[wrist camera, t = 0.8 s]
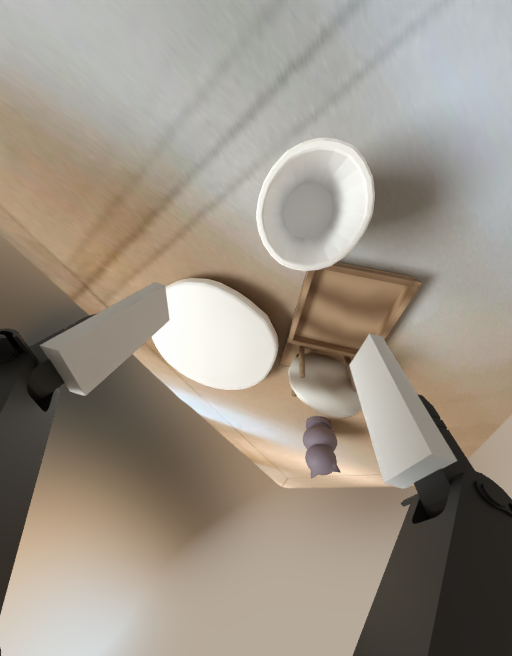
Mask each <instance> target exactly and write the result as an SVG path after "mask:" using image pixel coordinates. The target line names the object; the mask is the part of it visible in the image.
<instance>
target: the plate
mask: <svg viewBox="0 0 512 656" xmlns="http://www.w3.org/2000/svg"><path fill="white" fill-rule="evenodd" d="M166 295H167V303H168V311H169V319H170V320H169V321H168V322H167V323H166V324H165V325H164V326H163V327H162V328H161V329H159V330H158V331H157V332H156V333H155V334H154V335H153V336H152V339H153V341H154V343H155V345H156V347H157V349H158V350H159V352H160V354H161V355H162V356H163V357H164V359H165V360H166V361H167V362H168V363H169V364H170V365H171V366H172V367H174V368H175V369H176V370H177V371H179V372H180V373H182V374H183V375H185V376H186V377H188V378H190V379H192V380H194V381H197V382H199V383H201V384H203V385H206V386H210V387H213V388H219V389H226V390H239V389H245V388H249V387H251V386H253V385H256V384H258V383H259V382H260V381H262V380H263V379H264V378H265V377H266V376H267V374H268V373H269V371H270V370H271V369H272V366H273V364H274V362H275V360H276V357H277V352H278V347H279V344H278V337H277V333H276V331H275V329H274V327H273V325H272V323H271V322H270V320H269V318H268V316H267V315H266V314H265V313H264V312H263V311H262V310H261V309H260V308H258V307H257V306H256V305H255V304H254V303H253V302H252V301H250V300H249V299H248V298H246V297H245V296H243V295H242V294H240V293H239V292H238V291H236V290H234V289H232V288H230V287H228V286H226V285H224V284H222V283H220V282H217V281H213V280H210V279H201V278H188V279H183V280H178V281H176V282H174V283H172V284H170V285H168V286H166Z"/></svg>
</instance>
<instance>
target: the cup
mask: <svg viewBox="0 0 512 656" xmlns="http://www.w3.org/2000/svg"><path fill="white" fill-rule="evenodd" d="M374 200H375V191H374V181H373V176H372V173H371V171H370V169H369V166H368V164H367V162H366V160H365V158H364V157H363V156H362V155H361V153H360V152H359V151H358V150H357V148H356V147H355V146H353V145H351V144H348V143H346V142H344V141H342V140H339V139H332V138H322V137H321V138H317V139H313V140H309V141H305V142H302V143H300V144H298V145H296V146H295V147H293V148H291V149H289V150H287V151H286V152H285V153H284V154H283V155H282V157H281V158H280V159H279V160H278V161H277V162H276V163H275V164H274V166H273V167H272V169H271V170H270V172H269V174H268V175H267V177H266V179H265V180H264V183H263V186H262V189H261V192H260V195H259V198H258V205H257V212H256V218H257V224H258V231H259V233H260V236H261V239H262V242H263V244H264V246H265V247H266V249H267V250H268V252H269V253H270V255H271V256H272V257H273V258H274V259H276V260H277V261H278V262H279V263H280V264H282V265H284V266H286V267H289V268H291V269H295V270H301V271H311V270H319V269H322V268H326V267H329V266H332V265H333V264H335V263H336V262H338V261H339V260H341V259H342V258H344V257H345V256H346V255H347V254H348V253H349V252H350V251H351V250H352V249H353V248H354V247H355V246H356V245H357V243H358V242H359V240H360V239H361V237H362V236H363V234H364V233H365V231H366V229H367V227H368V224H369V222H370V220H371V218H372V215H373V209H374Z"/></svg>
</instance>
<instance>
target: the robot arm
mask: <svg viewBox="0 0 512 656" xmlns="http://www.w3.org/2000/svg"><path fill="white" fill-rule="evenodd" d="M169 320H170V319H169V311H168V303H167V295H166V287H165V285H162V284H158V283H153V284H151V285H149V286H147V287H145V288H143V289H142V290H140V291H138V292H136V293H134V294H132V295H131V296H129V297H127V298H125V299H123V300H121V301H120V302H118V303H116V304H114V305H112V306H111V307H109V308H107V309H105V310H103V311H101V312H100V313H97V314H94V315H91V316H87V317H85V318H83V319H81V320H79V321H77V322H75V324H72V325H70V326H68V327H66V329H62V330H60V331H59V332H57V333H55V334H53V335H51V336H49V337H47V338H45V339H43V340H41V341H40V342H38V343H36V344H34V345H32V346H30V347H28V345H27V344H26V343H25V341H24V340H23V339H22V337H21V335H20V334H19V333H18V332H17V331H16V330H13V329H0V613H1V610H2V606H3V602H4V599H5V595H6V591H7V588H8V583H9V580H10V576H11V573H12V569H13V566H14V562H15V558H16V554H17V551H18V547H19V543H20V540H21V536H22V532H23V529H24V525H25V521H26V517H27V514H28V510H29V506H30V503H31V499H32V495H33V492H34V488H35V484H36V481H37V477H38V473H39V470H40V466H41V462H42V459H43V455H44V451H45V447H46V444H47V440H48V436H49V433H50V428H51V425H52V422H53V418H54V414H55V410H56V407H57V403H58V399H59V396H60V390H59V389H58V387H60V386H61V385H62V384H64V383H65V384H66V386H67V387H68V389H69V390H70V391H71V392H74V393H77V394H81V395H84V396H86V395H87V394H88V393H89V392H90V391H91V390H93V389H94V388H95V387H96V386H97V385H98V384H99V383H100V382H102V381H103V380H104V379H105V378H106V377H107V376H108V375H109V374H110V373H112V372H113V371H114V370H115V369H116V368H117V367H118V366H119V365H120V364H122V363H123V362H124V361H125V360H126V359H127V358H128V357H129V356H131V355H132V354H133V353H134V352H135V351H136V350H137V349H138V348H139V347H141V346H142V345H143V344H144V343H145V342H146V341H147V340H148V339H149V338H151V337H152V336H153V335H154V334H155V333H156V332H157V331H158V330H159V329H161V328H162V327H163V326H164V325H165V324H166V323H167V322H168V321H169ZM349 366H350V370H351V373H352V376H353V380H354V383H355V386H356V390H357V393H358V397H359V400H360V403H361V407H362V410H363V413H364V417H365V420H366V424H367V427H368V430H369V434H370V437H371V440H372V444H373V447H374V451H375V454H376V457H377V461H378V464H379V467H380V471H381V474H382V478H383V481H384V483H385V484H389V485H392V486H395V487H399V488H402V489H405V488H407V487H409V486H410V485H412V484H414V485H415V487H416V490H417V492H418V494H416V495H414V496H412V497H410V498H408V499H405V500H404V501H403V502H402V503H401V504H402V506H406V505H409V504H410V506H409V509H408V512H407V514H406V517H405V520H404V522H403V525H402V528H401V530H400V533H399V535H398V538H397V541H396V543H395V546H394V549H393V551H392V554H391V557H390V559H389V562H388V564H387V567H386V570H385V572H384V575H383V577H382V580H381V583H380V585H379V588H378V590H377V593H376V596H375V598H374V601H373V604H372V606H371V609H370V612H369V614H368V617H367V619H366V622H365V625H364V627H363V630H362V632H361V635H360V638H359V640H358V643H357V646H356V649H355V651H354V654H353V656H512V499H511V498H510V497H509V496H508V495H507V494H506V492H505V491H504V490H503V489H502V488H501V487H499V486H498V485H497V484H496V483H495V482H494V481H492V480H491V479H490V478H488V477H486V476H485V475H483V474H482V473H479V472H476V471H475V470H474V469H473V467H472V466H471V464H470V463H469V461H468V459H467V458H466V456H465V455H464V453H463V452H462V450H461V449H460V447H459V446H458V444H457V442H456V441H455V439H454V438H453V436H452V435H451V433H450V432H449V430H447V427H446V425H445V424H444V422H443V421H442V420H440V416H439V415H438V413H437V412H436V410H435V408H434V407H433V406H432V405H431V404H430V403H429V402H428V401H427V400H426V399H425V398H424V397H423V396H422V395H418V394H417V393H416V391H415V390H414V388H413V387H412V385H411V383H410V382H409V380H408V378H407V377H406V375H405V373H404V372H403V370H402V368H401V367H400V365H399V363H398V362H397V360H396V358H395V357H394V355H393V353H392V352H391V350H390V349H389V347H388V345H387V344H386V342H385V340H384V339H383V337H382V336H377V335H373V334H369V335H368V337H367V338H366V340H365V341H364V343H363V344H362V346H361V348H360V349H359V351H358V352H357V354H356V356H355V357H354V359H353V360H352V362H351V363H350V365H349ZM0 656H1V649H0Z"/></svg>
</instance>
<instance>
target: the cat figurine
mask: <svg viewBox="0 0 512 656" xmlns="http://www.w3.org/2000/svg"><path fill="white" fill-rule="evenodd" d="M306 428H307V430H306V431H305V433H304V435H303V443H304V445H305V447H306V448H307V452H306V457H305V458H306V463H307V465H308V467H309V468H310V469H311V479H312V478H313V477H315V476H316V475H318V474H319V475H328V474H330V473H332V472H340V470H339V468H338V466H337V460H336V456H335V454H334V452H333V451H334V450H335V448H336V446H337V439H336V436H335V434H334V433H333V432H332V431H331V426H330V422H329V421H328V420H327V419H326V418H323V417H319V416H313V417H310V418H308V419H307V421H306Z"/></svg>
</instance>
